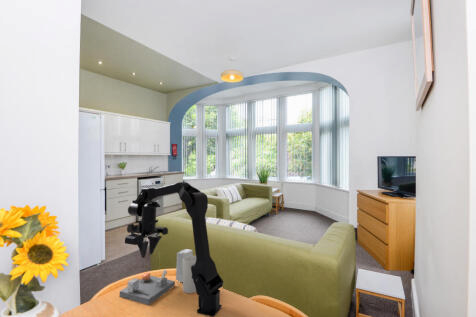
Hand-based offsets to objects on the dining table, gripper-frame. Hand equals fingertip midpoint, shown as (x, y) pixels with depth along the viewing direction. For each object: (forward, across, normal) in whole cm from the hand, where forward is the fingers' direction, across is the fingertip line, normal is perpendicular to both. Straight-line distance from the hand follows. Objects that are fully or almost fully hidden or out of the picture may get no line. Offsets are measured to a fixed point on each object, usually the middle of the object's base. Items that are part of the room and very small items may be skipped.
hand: (147, 255), depth 91 cm
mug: (+12, -6, +18) cm, 23 cm away
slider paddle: (+10, +8, +2) cm, 13 cm away
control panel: (+12, +3, +4) cm, 13 cm away
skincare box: (+12, -11, +11) cm, 20 cm away
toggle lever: (+9, 0, +8) cm, 12 cm away
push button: (+9, 0, 0) cm, 9 cm away
